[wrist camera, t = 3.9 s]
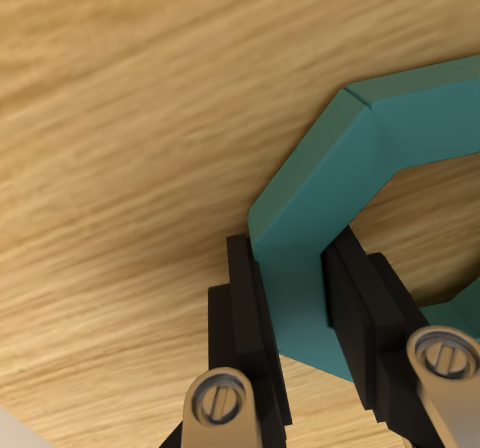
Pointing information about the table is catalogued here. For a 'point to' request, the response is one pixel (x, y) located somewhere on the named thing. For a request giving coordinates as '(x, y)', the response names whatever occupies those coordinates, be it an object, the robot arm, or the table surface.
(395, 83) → the ring
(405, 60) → the table surface
